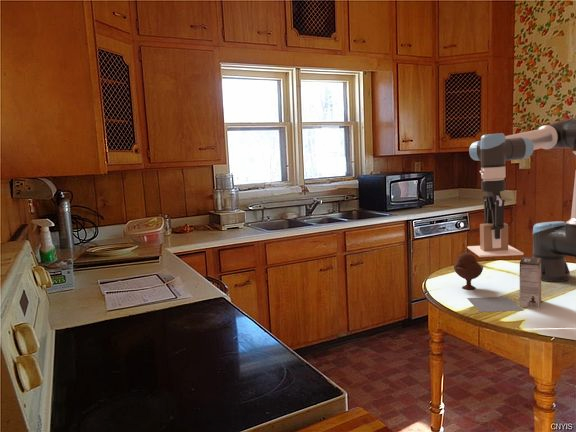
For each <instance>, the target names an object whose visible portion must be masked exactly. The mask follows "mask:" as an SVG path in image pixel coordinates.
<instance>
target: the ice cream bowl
mask: <svg viewBox="0 0 576 432" xmlns="http://www.w3.org/2000/svg"><path fill="white" fill-rule="evenodd" d="M453 269H454V271H455V274H457V275H458V276H459V277H461V278H462V279H465V282H466V284H465V285H463V286H462V287H461V289H463V290H466V291H475V290H476V289H477V288H476V287H475V286H474V285H473V284H472V280H474V279H477V278H478V277H480V275H481V274H482V272H483V270H484V265H483V264H480V263H479V262H478V261H477V259H476V257H475V256H474V254H472V253H470V252H463V253H461V254H459V256H458V259H457V260H456V263H455V264H454V265H453Z"/></svg>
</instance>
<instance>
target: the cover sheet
mask: <svg viewBox="0 0 576 432" xmlns="http://www.w3.org/2000/svg"><path fill="white" fill-rule="evenodd" d="M491 228H493V223H487V224H485V223H480V224H479V245H468V246H467V247H466V248H467V249H468V250H469V251H471V252H472V253H473V254H474V255H477V257H479V258H485V257H487V258H488V257H504V256H505V257H508V256H523V255H524V252H522V251H521V250H519V249H517V248H515V247H513V246H512V245H509V224H508V223H505V222H504V228H502V229H501V248H492V230H491Z"/></svg>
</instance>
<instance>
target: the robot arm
mask: <svg viewBox="0 0 576 432" xmlns="http://www.w3.org/2000/svg"><path fill="white" fill-rule="evenodd" d="M539 149H543V150H551V149H572V153H573V154H574V155H575V156H576V118H575V117H574V118H573V117H572V118H568V119H563V120H559V121H557V122H552V123H548V124H545V125H541V126H540V127H538V128H537V129H534V130H529V131H523V132H518V133H515V134H509V135H505V134H504V133H503V132H501V133H489V134H488V133H487V134H483V135H481V137H480V140H477V141H473V142H472V143H471V145H470V146H469V149H468V150H469V156H470V158H471V159H472V160H473V161H479V162H480V170H479V173H480V174H481V175H480V178H481V183H480V186H481V188H480V189H481V192H485V193H486V195H485V196H483V197H482V198H483V213H484V214H483V217H484V224H487V223H493V228H491V230H492V248H501V229H502V228H504V223H505V218H504V217H505V202H506V201H505V199H502V195H501V192H504V191H506V180H505V178H506V161H507V162H508V161H517V160H518V161H519V160H520V161H521V160H525V159H526V160H527V159H528V158H530V157H531V156H532V155H533V152H534V151H535V150H539ZM573 183H574V185H573V194H572V206H571V212H570V213H571V215H570V218H569V220H567V221H562V220H561V221H559V220H558V221H557V220H556V221H546V222H545V221H543V222H538V223H537V222H536V223H534V225H533V228H532V258H542V266H541V273H542V274H541V281H545V282H566V281H569V280H570V278H571V271H570V269H569V267H568V264H567V261H566V257H571V258H576V171H575V173H574V182H573Z"/></svg>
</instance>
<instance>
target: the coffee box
mask: <svg viewBox="0 0 576 432" xmlns="http://www.w3.org/2000/svg"><path fill="white" fill-rule="evenodd" d="M541 266H542V258H533V257H532V256H531V257H529V256H523V257H521V258H520V260H519V307H520V308H529V309H531V308H532V309H537V310H538V309H541V305H542V280H541V274H542V273H541Z"/></svg>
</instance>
